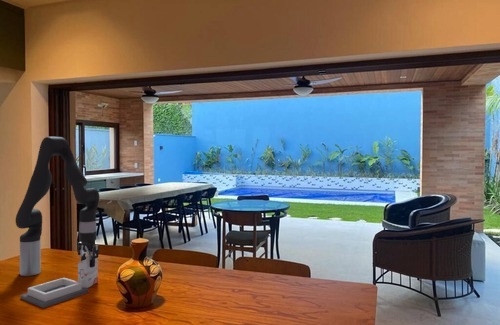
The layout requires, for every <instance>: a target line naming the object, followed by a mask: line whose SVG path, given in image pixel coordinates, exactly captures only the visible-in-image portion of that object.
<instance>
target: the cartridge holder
mask: <svg viewBox="0 0 500 325" xmlns="http://www.w3.org/2000/svg"><path fill="white" fill-rule="evenodd" d="M85 294H89V289H88V288H83V287H82V283H80V282H78V280H77V281H76V280H73V279H70V278H67V277H62V278H58V279H54V280H51V281H48V282H44V283H41V284H40V283H39V284H37V285H34V286H30V287H27V293H23V294H20V299H21V300H22V301H25V302H26V303H27V302H28V303H30V304H33V305H35V306H37V307H40V308H43V309H44V308H47V307H50V306H55V305H57V304H59V303H62V302H65V301H68V300H71V299H75V298H77V297H80V296H82V295H85Z"/></svg>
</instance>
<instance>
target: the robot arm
mask: <svg viewBox="0 0 500 325" xmlns="http://www.w3.org/2000/svg"><path fill="white" fill-rule="evenodd" d="M53 156H55V157H56V156H60V157H61V158H62V160H63V162H64V175H65V178H66V180H67V181H68V182H69V184H70V185H71V188H72V191H73V196H74V198H75V201H76V202H77V203H79V204H81V205H85V206H84V208H82V209H80V211H79V225H78V232H79V233H78V239H79V240H78V241H79V242H77V243H76V247H77V248H76V249H77V255H78V256H79V257H80V262H81V261H83V260H86V257H87V256H89V257H90V267H91V268H92V267H94V266H95V258H97V259H98V258H99V254H100V246H99V244H97V245H96V244H95V241H96V240H97V221H96V220H97V218H96V217H97V213H96V212H97V209H98V206H99V202H100V201H99V200H100V192H99V191H98V189H97V188H95V187H91V188H89V187H88V188H85V187H86V186H87V184H88V180H87V178H86V176H85V175H84V174H83V172H82V171H81V169H80V166H78V164H77V161H76V159H75V156H74V153H73V152H72V149H71V146H70V145H69V143H68V141H67V139H65V138H64V137H63V136H46V137H44V138H42V140H41V143H40V146H39V150H38V154H37V159H36V162H35V163H36V164H35V166H34V170H33V172H32V175H31V177H30V180H29V183H28V187H27V190H26V192H25V195H24V198H23V200H22V202H21V204H20V206H19V208H18V210H17V213H16V216H15V225H16V227H17V228H19V229H27V230H26V232H24V233H23V234H21V235H20V236H19V276H22V277H29V276H31V277H32V276H36V275H39V274H40V273H41V272H42V271H41V270H42V268H41V258H42V257H41V236H42V234H43V233H42V231H43V214H42V212H41V210H40V209H38V208H35V206H36V205H37V204H38V203H39V202H40V201H41V200H42V199H43V198H44V197H45V196H46V195H47V194H48V192H49V190H50V188H51V185H52V183H53V175H52V172H51V170H50V162H51V158H52V157H53ZM91 254H92V255H91ZM95 254H96V255H95Z"/></svg>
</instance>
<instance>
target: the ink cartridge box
mask: <svg viewBox="0 0 500 325" xmlns="http://www.w3.org/2000/svg"><path fill="white" fill-rule="evenodd" d="M91 255H92V254H91ZM95 255H96V254H95ZM98 260H99V259H98V258H95V266H94V267H92V268H91V267H90V257H89V255H86V260H83V261H81V260H80V261H79V262H77V282H80V283H82V287H83V288H86V289H88V288H90V287H92V286H94V285H95V284H97V283H98V282H99V281H98V280H99V276H98V275H99V268H98V264H99V262H98Z"/></svg>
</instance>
